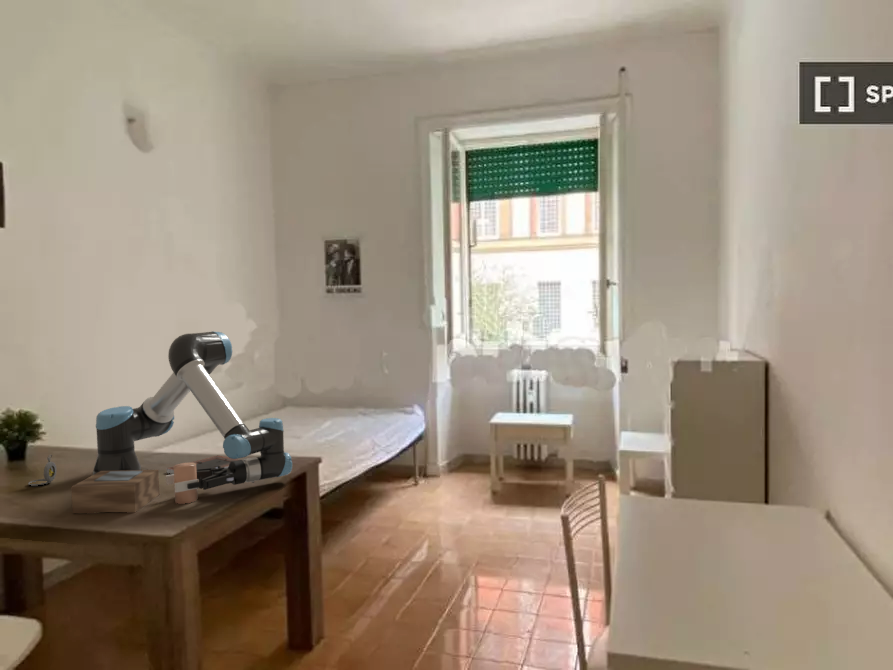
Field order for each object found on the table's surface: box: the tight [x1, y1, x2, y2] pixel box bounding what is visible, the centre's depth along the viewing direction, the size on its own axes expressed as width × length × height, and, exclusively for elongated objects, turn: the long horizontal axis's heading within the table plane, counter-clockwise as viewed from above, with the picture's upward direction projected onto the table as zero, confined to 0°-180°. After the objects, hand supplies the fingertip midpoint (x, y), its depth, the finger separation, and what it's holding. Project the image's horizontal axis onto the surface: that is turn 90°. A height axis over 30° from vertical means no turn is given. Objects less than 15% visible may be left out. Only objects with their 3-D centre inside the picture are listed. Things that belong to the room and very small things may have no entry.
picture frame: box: [166, 455, 239, 475], centre depth 237 cm, size 16×2×22 cm
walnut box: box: [70, 469, 160, 514], centre depth 198 cm, size 17×18×8 cm
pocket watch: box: [27, 454, 58, 487], centre depth 220 cm, size 8×8×10 cm
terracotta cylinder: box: [173, 462, 199, 505], centre depth 200 cm, size 6×6×11 cm
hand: (170, 483), depth 197 cm, fingers open, 10 cm apart
